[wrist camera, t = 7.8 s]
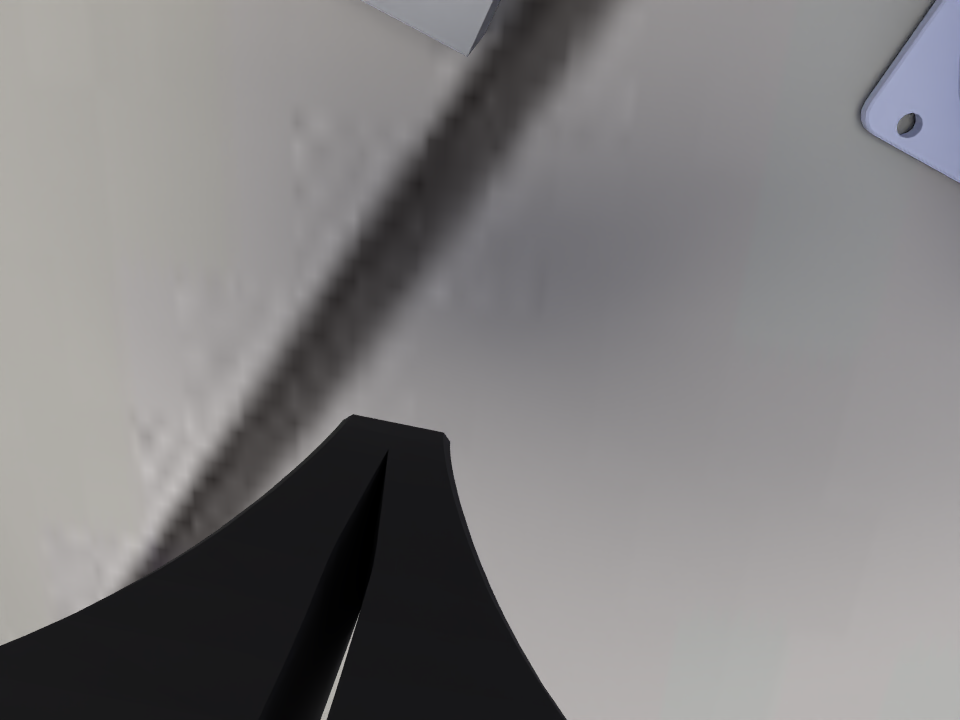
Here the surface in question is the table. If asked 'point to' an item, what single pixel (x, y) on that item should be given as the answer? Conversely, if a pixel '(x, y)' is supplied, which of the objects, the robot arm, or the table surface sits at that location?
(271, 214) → the table surface
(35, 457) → the table surface
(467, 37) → the key panel
